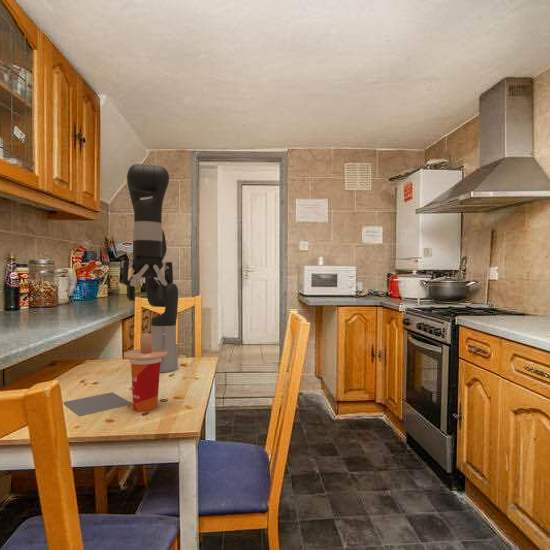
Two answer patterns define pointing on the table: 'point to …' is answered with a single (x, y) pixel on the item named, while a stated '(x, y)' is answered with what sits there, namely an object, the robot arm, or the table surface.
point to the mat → (96, 403)
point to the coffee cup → (145, 384)
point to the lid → (145, 350)
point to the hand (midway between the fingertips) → (146, 300)
